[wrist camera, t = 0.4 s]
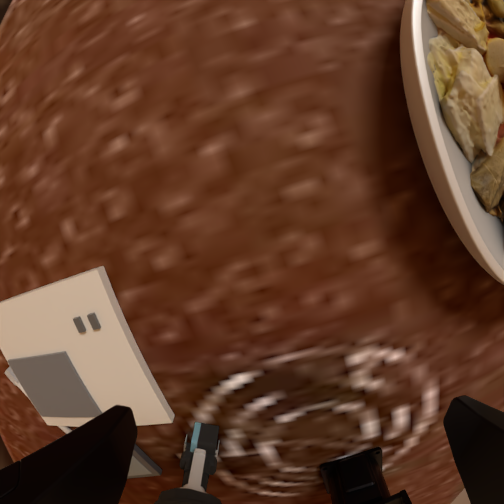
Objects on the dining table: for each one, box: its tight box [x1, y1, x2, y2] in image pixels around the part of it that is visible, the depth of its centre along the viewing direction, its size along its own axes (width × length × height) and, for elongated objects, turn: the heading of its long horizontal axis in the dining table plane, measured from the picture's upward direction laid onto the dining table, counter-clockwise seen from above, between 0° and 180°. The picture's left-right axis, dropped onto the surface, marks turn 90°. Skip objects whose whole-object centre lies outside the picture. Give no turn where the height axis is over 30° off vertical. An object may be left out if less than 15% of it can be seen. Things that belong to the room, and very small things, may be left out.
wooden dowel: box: [5, 367, 72, 434], centre depth 24 cm, size 13×1×1 cm, turn 41°
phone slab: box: [127, 444, 162, 478], centre depth 25 cm, size 6×12×1 cm, turn 116°
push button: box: [154, 422, 222, 504], centre depth 19 cm, size 7×5×10 cm
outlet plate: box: [0, 266, 175, 427], centre depth 22 cm, size 14×16×1 cm
